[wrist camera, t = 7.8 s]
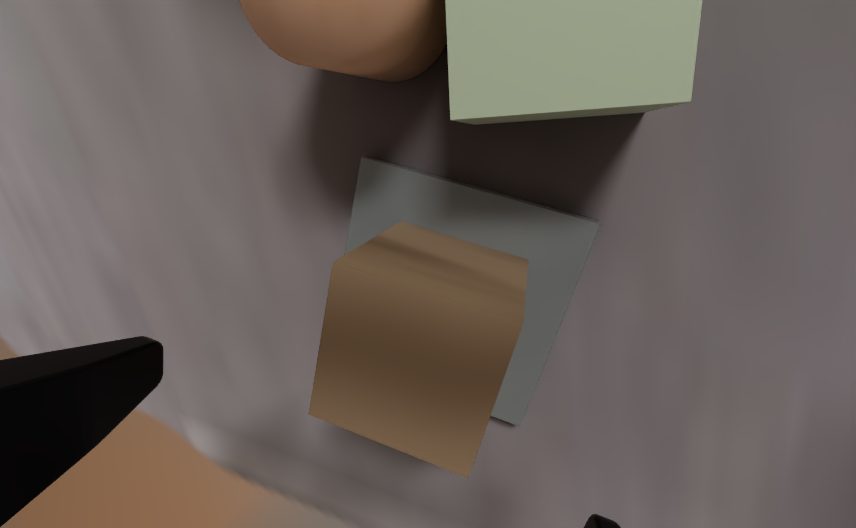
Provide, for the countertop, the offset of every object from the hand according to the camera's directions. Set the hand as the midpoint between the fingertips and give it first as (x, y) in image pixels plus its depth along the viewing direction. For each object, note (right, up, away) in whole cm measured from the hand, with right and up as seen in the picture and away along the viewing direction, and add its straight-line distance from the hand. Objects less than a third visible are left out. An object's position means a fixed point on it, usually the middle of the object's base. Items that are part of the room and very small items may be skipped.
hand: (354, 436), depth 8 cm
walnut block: (+2, +2, +7) cm, 7 cm away
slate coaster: (+2, +2, +7) cm, 8 cm away
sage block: (+5, +10, +4) cm, 12 cm away
